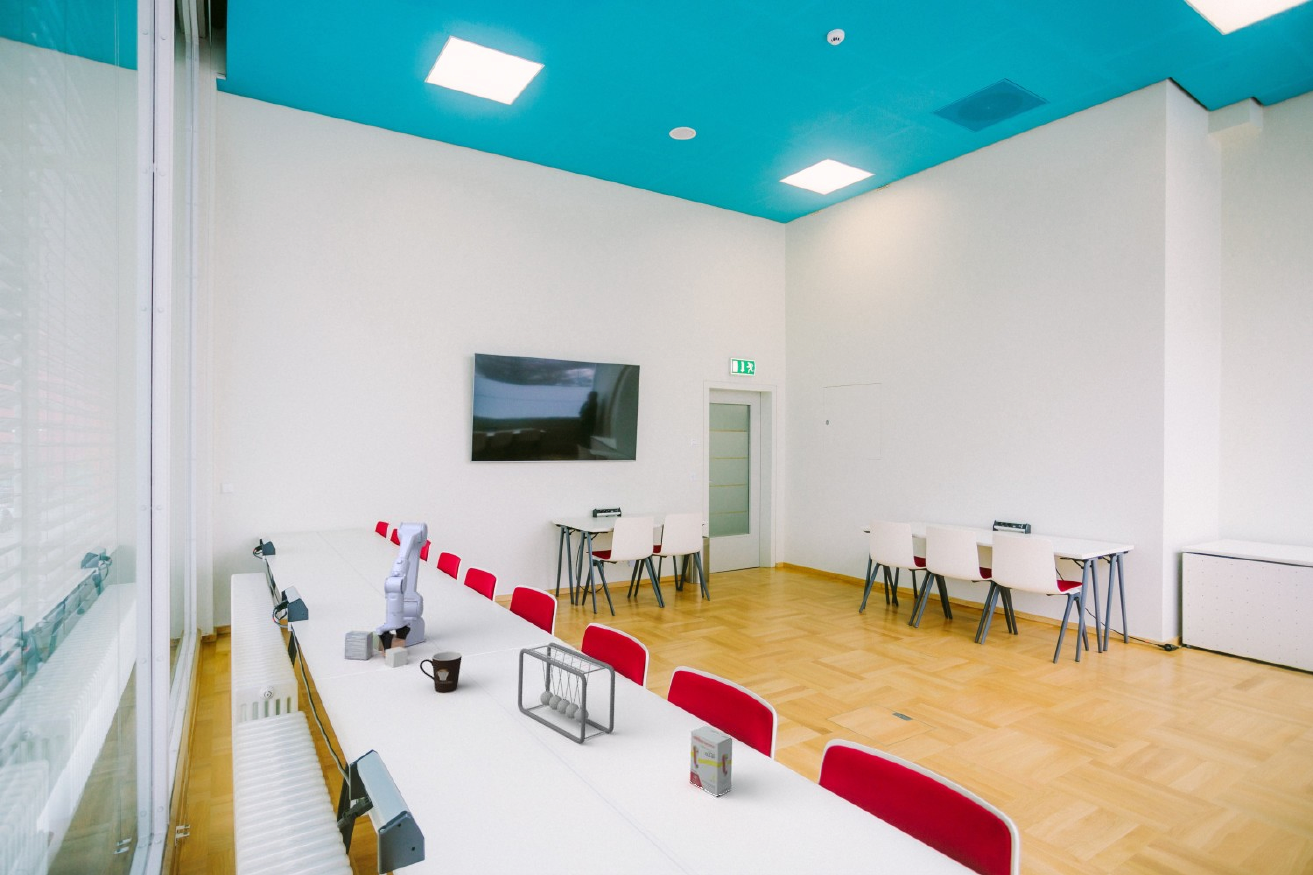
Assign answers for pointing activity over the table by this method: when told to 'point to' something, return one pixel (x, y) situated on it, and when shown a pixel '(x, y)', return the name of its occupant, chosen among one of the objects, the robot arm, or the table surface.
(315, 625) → the table surface
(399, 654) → the pale grey block
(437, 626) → the table surface
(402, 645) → the terracotta block
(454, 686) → the coffee mug
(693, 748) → the ink box
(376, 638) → the sage block
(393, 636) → the walnut block
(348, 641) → the medicine box
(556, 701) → the newton's cradle
